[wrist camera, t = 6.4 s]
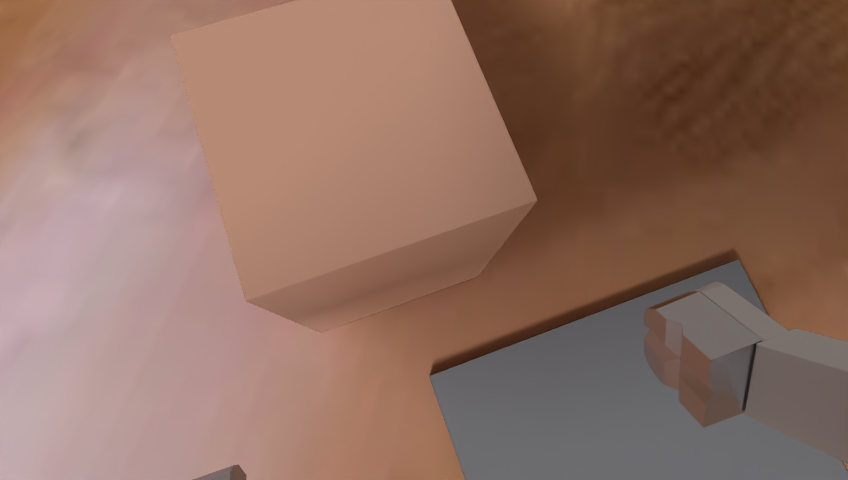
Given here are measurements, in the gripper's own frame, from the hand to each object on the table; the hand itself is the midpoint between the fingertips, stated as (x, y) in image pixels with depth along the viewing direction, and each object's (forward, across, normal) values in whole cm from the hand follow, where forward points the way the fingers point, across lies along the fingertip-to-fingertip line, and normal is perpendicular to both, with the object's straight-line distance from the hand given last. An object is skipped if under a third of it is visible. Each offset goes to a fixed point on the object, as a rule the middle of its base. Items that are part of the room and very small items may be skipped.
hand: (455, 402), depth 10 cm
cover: (+11, 0, +2) cm, 12 cm away
